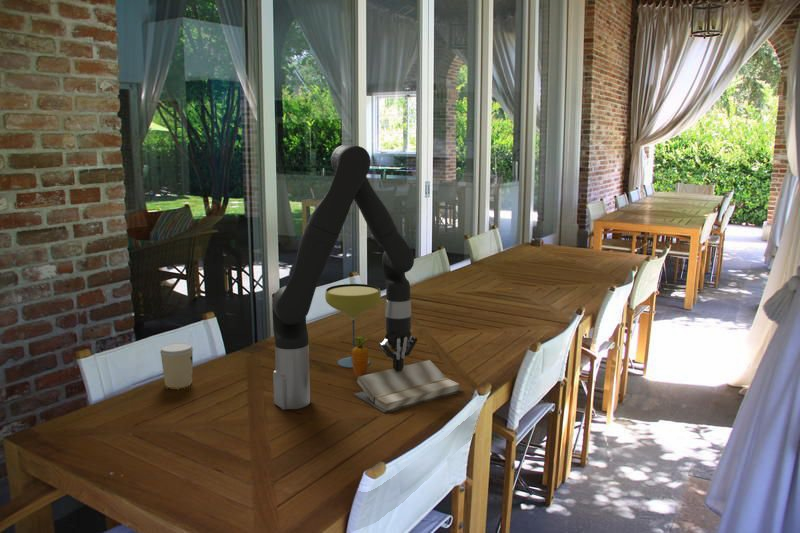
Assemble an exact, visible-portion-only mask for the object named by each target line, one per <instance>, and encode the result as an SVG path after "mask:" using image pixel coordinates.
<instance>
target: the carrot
mask: <svg viewBox="0 0 800 533" xmlns="http://www.w3.org/2000/svg"><path fill="white" fill-rule="evenodd" d="M363 338H364V334H363V335H362V334H361V335H360V336H358V337H355V341H356V343H357V344H356V345H357V346H356V345H355V347H354V348H353V347H352V349H351V357H352V363H353V368H352V369H353V372H354V375H355V378H356V379H357V381H358V377H359V376H363V375H367V370H368V366H369V365H368V360H369V349H368V348H367V347H366V346H364V344H365V342H367V341H369V339H368V338H365V339H364V340H363Z"/></svg>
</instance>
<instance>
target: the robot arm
mask: <svg viewBox="0 0 800 533" xmlns="http://www.w3.org/2000/svg"><path fill="white" fill-rule="evenodd" d="M331 153H332V154H331V156H330V164H331V167H332V170H333V171H334V173H335V174H334V176H333V179H332V181H331V185H330V187H329V189H328V190H327V193H326V194H325V195H324V197H323V198H322V199H321V201H320V202H319V203H318V205H317V206H316V208H314V210H313V212H312V213H311V215H310V217H309V219H308V220H307V222H306V225H305V228H304V230H303V231H302V232H303V233H302V235H301V238H300V240H299V245H298V249H297V253H296V254H297V255H296V259H295V265H294V269H293V272H292V274H291V276H290V278H289V279H288V283H287V284H286V285H284V286H282V287H281V288H280V287H279V289H277V291H276V292H275V293H274V295H273V297H272V301H271V302H272V303H271V304H272V305H271V306H272V307H271V308H272V309H271V310H272V311H271V312H272V330H273V336H274V350H275V351H274V353H275V354H274V356H275V358H274V359H275V370H273V372H272V374H273V375H272V379H273V403H274V405H276V406H277V407H279V408H280V409H281V410H283V411H284V410H298V409H302V408H305V407H307V406H309V405H310V403H311V391H310V390H311V389H310V388H311V386H310V385H311V384H310V350H309V347H310V346H309V332H308V328H307V327H308V326H307V316H308V314H309V311H310V309H311V305H312V303H313V298H314V295H315V292H316V289H317V287H318V283H319V280H320V278H321V276H322V275H323V272H324V270H325V268H326V267H327V266H326V265H327V264H328V261H329V259H330V258H331V255H332V253H333V251H334V249H335V246H336V245H337V241H338V239H339V237H340V235H341V231H342V229H343V226H344V224H345V222H346V219H347V216H348V215H349V212H350V209H351V206H352V205H353V202H355V204H356V205H357V207H358V210H359V211H360V213H361V216H362V217H363V218H364V221H365V224H366V225H367V228H368V230H369V231H370V232H371V235H372V238H374V241H375V242H376V243H377V245H378V246H380V247H381V248H382V249H383V250H384V251H383V254H382V269H383V276H384V279H385V285H386V288H385V292H386V293H385V294H386V295H385V296H386V298H385V299H386V300H385V312H384V313H385V331H386V333H385V337H384V340H383V341H382V342H379V343H378V347H379V348H380V349H381V350H382V351H383V353H384V354H385V355H386V357H388V358H390V359H392V369H393V368H394V369H395V370H396V371H402V368H403V367H404V366H405V365H404V364H405V363H404V360H405V357H406V356H409V355H410V354H411V352H412V351H413V349H414V347H415V346H416V343H417V342H418V338H417V337H415V336H413V334H412V332H411V330H412V304H411V284H410V281H409V280H408V279H407V277H406V273H407V272H409V271H411V269H413V267H414V264H415V257H414V254H413V251H412V249H411V248H410V247H409V245H408V243H407V242H406V240H405V239H404V238H403V236H402V235H401V234H400V232H399V230H398V229H397V226H396V224H395V222H394V219H393V218H392V216H391V214H390V212H389V211H388V209H387V207H386V205H385V204H384V202H383V201H382V200H381V199H380V197H379V195H378V194H377V193H376V191H375V190H374V188H373V186H372V185H371V182H370V181H369V179H368V174H369V171H370V169H371V164H372V162H371V157H370V154H369V152H368V151H367V150H366V149H365V148H364V147H362V146H359V145H355V144H342V145H339V146H337V147H336V148H335V149H334V150H333V152H331Z"/></svg>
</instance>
